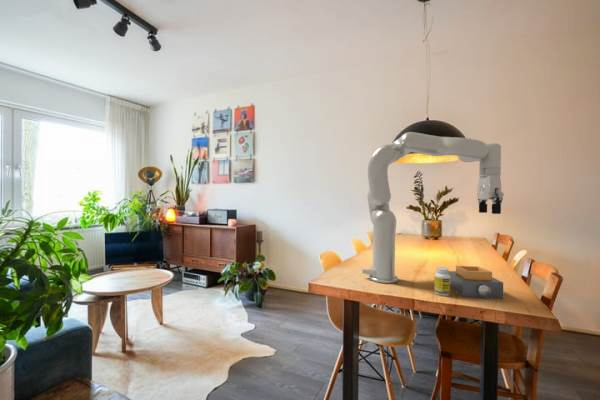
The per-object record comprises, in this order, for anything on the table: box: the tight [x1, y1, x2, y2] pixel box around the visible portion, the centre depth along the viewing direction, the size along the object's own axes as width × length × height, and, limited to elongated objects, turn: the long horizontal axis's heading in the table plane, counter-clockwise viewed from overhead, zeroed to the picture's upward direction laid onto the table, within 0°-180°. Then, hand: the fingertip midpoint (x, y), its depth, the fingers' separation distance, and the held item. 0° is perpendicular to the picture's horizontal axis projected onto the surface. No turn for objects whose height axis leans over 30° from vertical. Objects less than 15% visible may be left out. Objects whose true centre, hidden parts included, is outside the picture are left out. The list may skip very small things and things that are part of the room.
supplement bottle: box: [433, 266, 451, 297], centre depth 105 cm, size 5×5×10 cm
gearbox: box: [448, 265, 504, 300], centre depth 107 cm, size 14×16×9 cm
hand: (489, 213), depth 117 cm, fingers open, 9 cm apart
